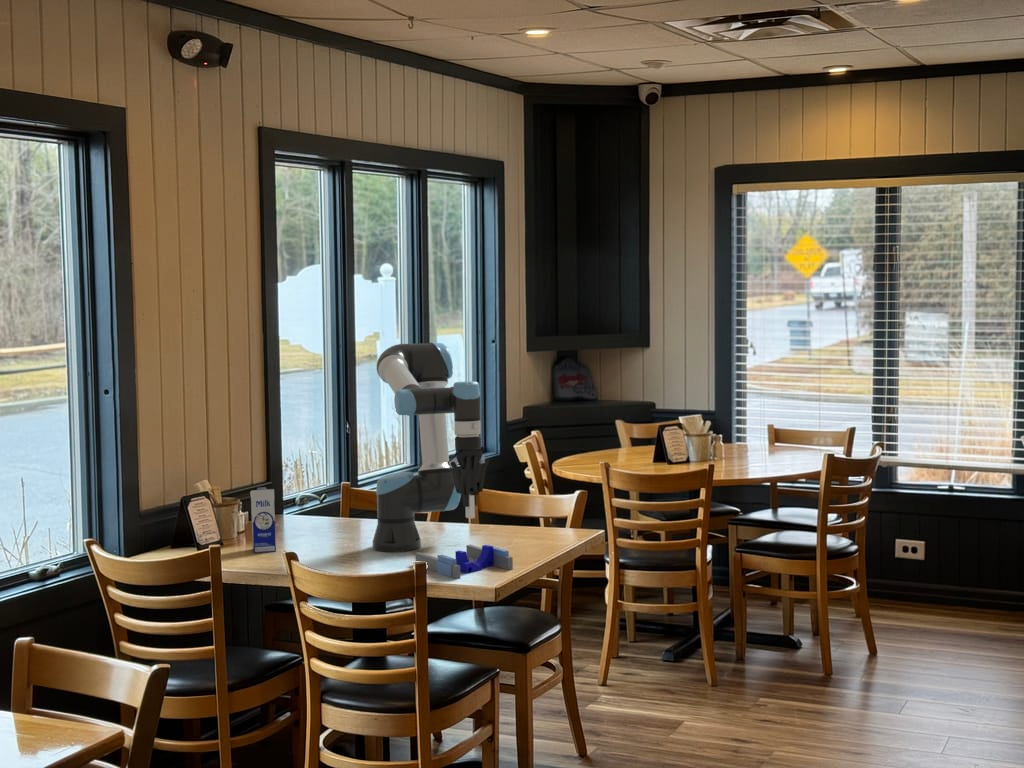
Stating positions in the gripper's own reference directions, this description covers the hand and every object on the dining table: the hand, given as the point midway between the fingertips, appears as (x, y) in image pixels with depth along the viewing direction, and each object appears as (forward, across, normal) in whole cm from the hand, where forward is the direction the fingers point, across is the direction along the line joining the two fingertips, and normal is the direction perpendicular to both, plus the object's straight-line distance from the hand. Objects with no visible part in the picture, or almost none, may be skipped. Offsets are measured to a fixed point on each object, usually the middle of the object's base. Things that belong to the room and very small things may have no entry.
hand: (470, 517), depth 342 cm
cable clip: (+16, +2, +1) cm, 16 cm away
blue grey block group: (+15, 0, +5) cm, 16 cm away
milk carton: (+14, -37, +65) cm, 77 cm away
